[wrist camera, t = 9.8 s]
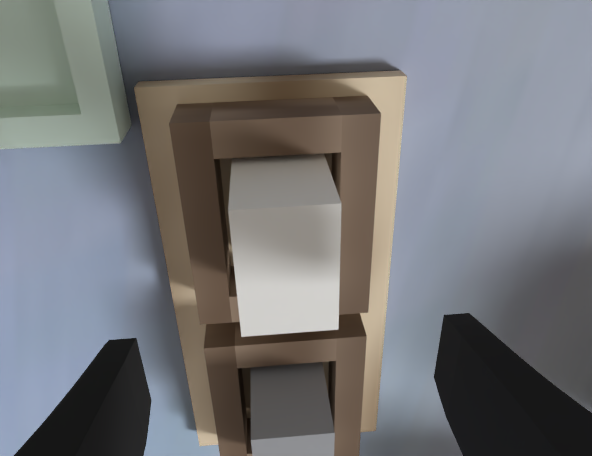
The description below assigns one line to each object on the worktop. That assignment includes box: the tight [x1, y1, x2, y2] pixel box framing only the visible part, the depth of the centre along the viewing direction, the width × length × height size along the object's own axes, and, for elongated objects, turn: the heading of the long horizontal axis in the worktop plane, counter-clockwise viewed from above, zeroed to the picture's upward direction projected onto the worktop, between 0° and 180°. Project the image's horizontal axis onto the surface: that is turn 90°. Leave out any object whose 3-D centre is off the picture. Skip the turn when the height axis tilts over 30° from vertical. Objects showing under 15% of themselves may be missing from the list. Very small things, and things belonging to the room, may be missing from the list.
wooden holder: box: [134, 70, 407, 456], centre depth 21 cm, size 9×18×3 cm, turn 1°
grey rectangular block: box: [250, 362, 335, 456], centre depth 21 cm, size 3×4×5 cm
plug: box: [228, 153, 341, 337], centre depth 17 cm, size 3×4×5 cm
